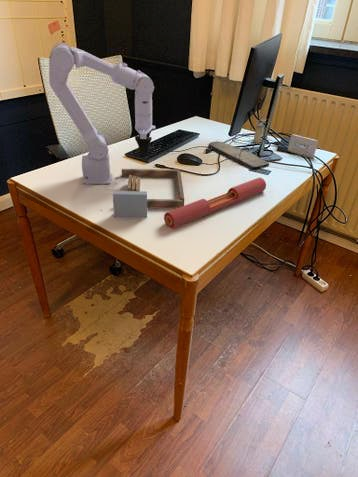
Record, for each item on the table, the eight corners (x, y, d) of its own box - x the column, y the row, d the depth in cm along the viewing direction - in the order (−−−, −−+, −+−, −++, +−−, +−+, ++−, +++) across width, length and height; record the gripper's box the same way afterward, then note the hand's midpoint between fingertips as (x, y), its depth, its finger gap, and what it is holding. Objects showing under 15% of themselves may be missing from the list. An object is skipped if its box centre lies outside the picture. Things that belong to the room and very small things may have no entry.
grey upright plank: (147, 217, 109) (146, 194, 105) (114, 217, 109) (112, 194, 104) (147, 214, 111) (147, 191, 106) (114, 214, 110) (113, 191, 106)
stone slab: (222, 139, 165) (271, 158, 145) (222, 145, 167) (270, 166, 147) (205, 143, 160) (254, 164, 140) (205, 150, 162) (253, 172, 142)
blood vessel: (254, 187, 130) (256, 175, 127) (264, 193, 127) (267, 180, 124) (163, 224, 107) (163, 209, 104) (173, 231, 104) (174, 217, 101)
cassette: (314, 157, 157) (318, 140, 153) (312, 158, 156) (317, 141, 151) (288, 150, 163) (292, 133, 158) (286, 151, 162) (290, 134, 157)
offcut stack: (127, 197, 119) (127, 187, 117) (129, 184, 128) (129, 174, 126) (139, 197, 120) (139, 188, 118) (140, 184, 128) (139, 175, 126)
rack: (116, 207, 113) (116, 199, 112) (122, 174, 133) (121, 167, 131) (184, 208, 115) (184, 199, 113) (179, 175, 135) (179, 168, 133)
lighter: (257, 143, 168) (261, 122, 162) (251, 141, 170) (254, 120, 164) (266, 140, 172) (270, 119, 166) (259, 138, 174) (263, 117, 169)
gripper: (155, 120, 114) (155, 160, 122) (155, 107, 126) (155, 144, 134) (133, 119, 114) (134, 159, 122) (135, 107, 126) (136, 144, 134)
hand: (144, 151), depth 128 cm, fingers open, 7 cm apart
